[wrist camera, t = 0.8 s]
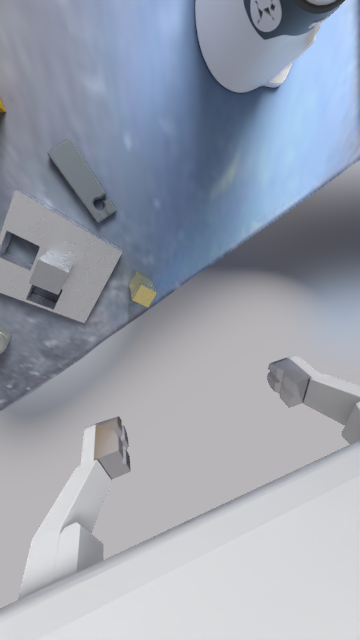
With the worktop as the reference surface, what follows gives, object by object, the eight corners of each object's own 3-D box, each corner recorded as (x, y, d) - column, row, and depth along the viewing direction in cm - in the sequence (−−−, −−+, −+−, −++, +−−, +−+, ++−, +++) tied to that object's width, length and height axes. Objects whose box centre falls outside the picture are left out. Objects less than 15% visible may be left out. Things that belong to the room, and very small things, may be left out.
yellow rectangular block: (136, 271, 41) (141, 284, 35) (150, 278, 43) (157, 293, 36) (128, 284, 42) (132, 300, 36) (142, 291, 44) (148, 307, 37)
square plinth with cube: (23, 190, 31) (-2, 188, 24) (121, 248, 39) (124, 259, 32) (-9, 280, 35) (-36, 299, 29) (86, 316, 43) (81, 337, 36)
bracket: (71, 139, 30) (69, 136, 28) (117, 210, 36) (117, 210, 34) (49, 155, 30) (45, 152, 28) (98, 222, 36) (97, 224, 34)
